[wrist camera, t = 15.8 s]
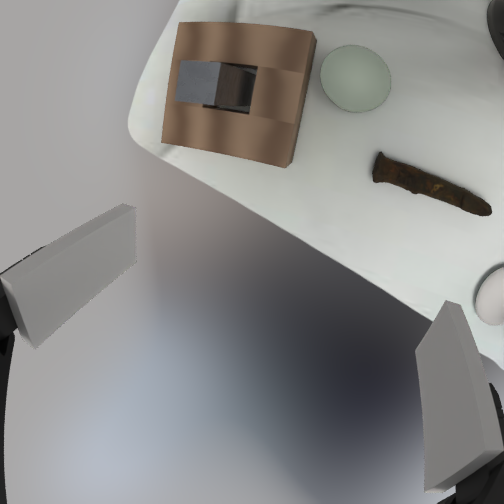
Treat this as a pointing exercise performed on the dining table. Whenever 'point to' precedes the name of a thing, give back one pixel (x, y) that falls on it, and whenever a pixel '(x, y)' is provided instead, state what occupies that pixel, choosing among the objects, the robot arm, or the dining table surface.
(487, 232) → the dining table surface
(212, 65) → the square bar
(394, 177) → the hand tool
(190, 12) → the dining table surface
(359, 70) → the round stub
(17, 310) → the robot arm
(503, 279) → the flower in vase
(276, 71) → the socket block
